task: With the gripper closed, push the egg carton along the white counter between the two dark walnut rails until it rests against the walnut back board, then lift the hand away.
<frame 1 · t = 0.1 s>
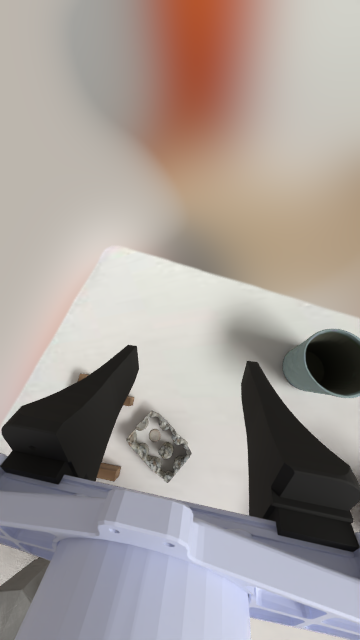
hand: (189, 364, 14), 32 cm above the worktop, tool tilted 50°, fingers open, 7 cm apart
coffeepot: (71, 550, 38), on the worktop
teal grey cup: (302, 368, 44), on the worktop
walnut bay: (99, 429, 43), on the worktop
egg carton: (162, 440, 42), on the worktop
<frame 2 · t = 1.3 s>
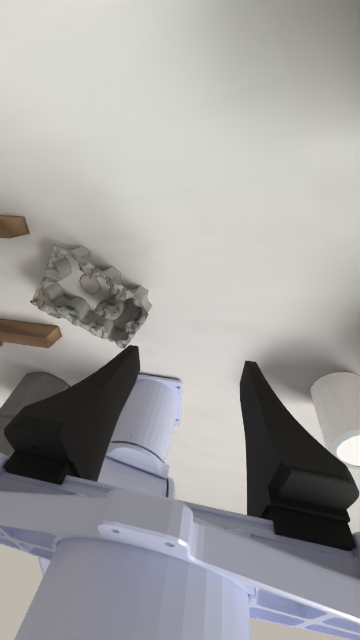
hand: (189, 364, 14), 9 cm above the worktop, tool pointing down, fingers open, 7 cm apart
coffeepot: (48, 392, 36), on the worktop
walnut bay: (0, 280, 25), on the worktop
egg carton: (106, 290, 24), on the worktop
shot glass: (336, 388, 25), on the worktop
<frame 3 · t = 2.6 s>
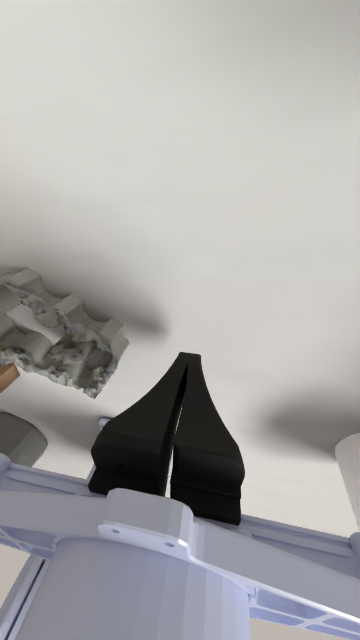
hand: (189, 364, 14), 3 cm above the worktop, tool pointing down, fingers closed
coffeepot: (14, 433, 30), on the worktop
egg carton: (69, 322, 18), on the worktop
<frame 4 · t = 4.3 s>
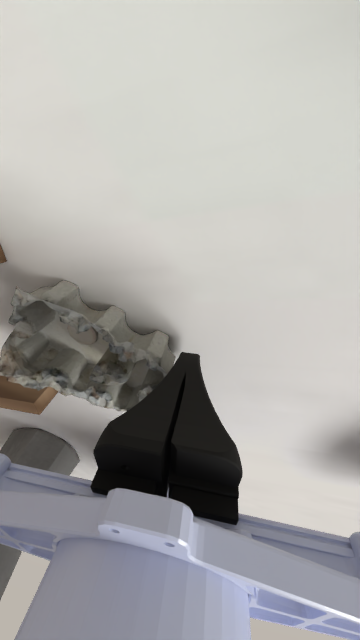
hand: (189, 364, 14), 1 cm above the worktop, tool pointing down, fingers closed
coffeepot: (43, 448, 28), on the worktop
egg carton: (106, 338, 16), on the worktop, touching gripper
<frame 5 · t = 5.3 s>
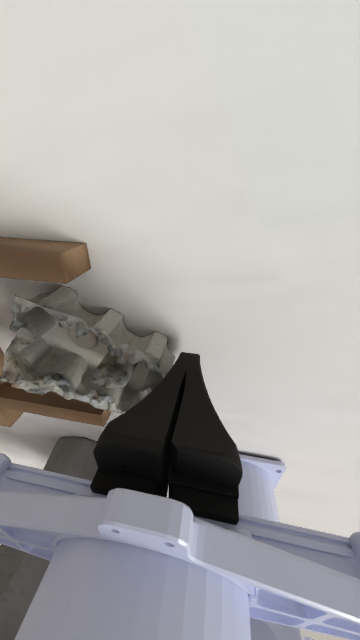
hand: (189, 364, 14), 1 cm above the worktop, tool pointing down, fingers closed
coffeepot: (85, 457, 27), on the worktop
walnut bay: (35, 331, 17), on the worktop
egg carton: (106, 341, 17), on the worktop, touching gripper
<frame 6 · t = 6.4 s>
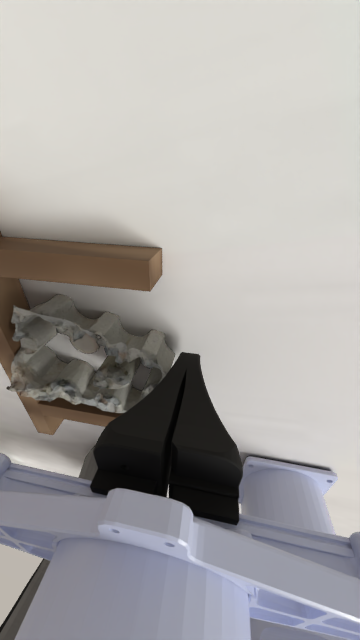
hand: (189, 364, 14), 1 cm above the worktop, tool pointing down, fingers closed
coffeepot: (118, 463, 27), on the worktop
walnut bay: (89, 337, 16), on the worktop
egg carton: (107, 344, 17), on the worktop, touching gripper, walnut bay
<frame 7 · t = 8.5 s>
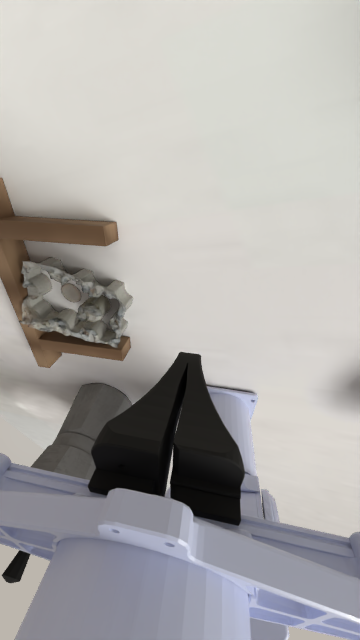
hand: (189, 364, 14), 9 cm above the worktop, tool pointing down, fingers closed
coffeepot: (101, 403, 34), on the worktop
walnut bay: (74, 289, 23), on the worktop
egg carton: (88, 295, 24), on the worktop
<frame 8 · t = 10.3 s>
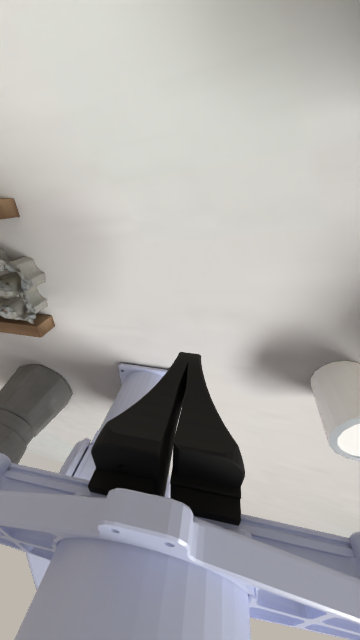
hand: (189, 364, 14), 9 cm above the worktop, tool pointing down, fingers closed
coffeepot: (43, 386, 35), on the worktop
egg carton: (7, 274, 25), on the worktop
shot glass: (337, 378, 24), on the worktop
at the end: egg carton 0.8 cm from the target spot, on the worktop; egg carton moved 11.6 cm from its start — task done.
